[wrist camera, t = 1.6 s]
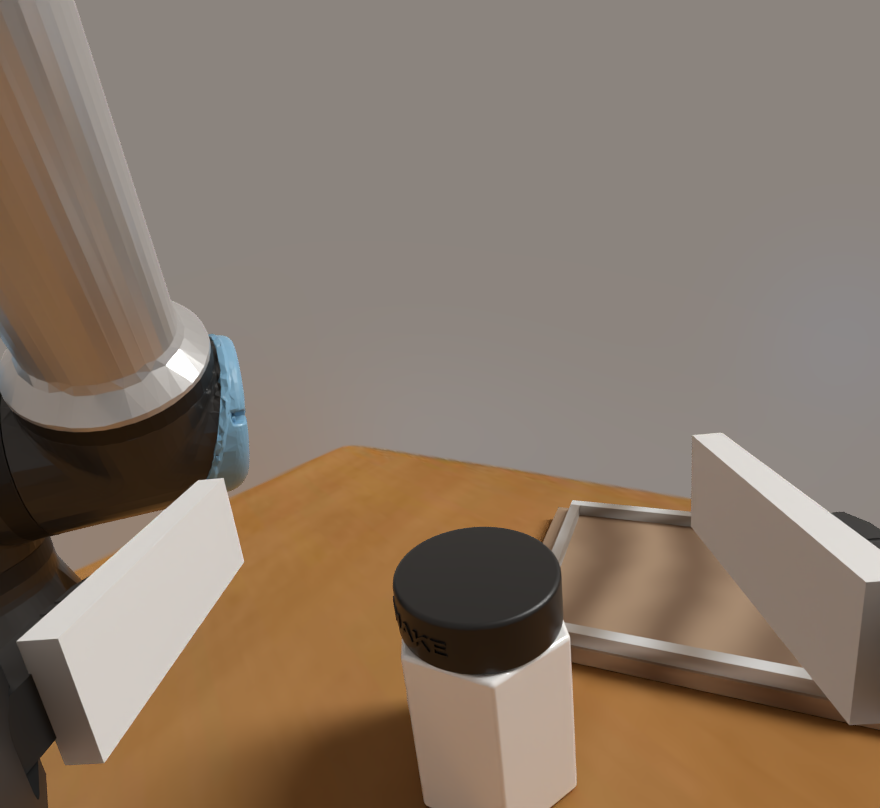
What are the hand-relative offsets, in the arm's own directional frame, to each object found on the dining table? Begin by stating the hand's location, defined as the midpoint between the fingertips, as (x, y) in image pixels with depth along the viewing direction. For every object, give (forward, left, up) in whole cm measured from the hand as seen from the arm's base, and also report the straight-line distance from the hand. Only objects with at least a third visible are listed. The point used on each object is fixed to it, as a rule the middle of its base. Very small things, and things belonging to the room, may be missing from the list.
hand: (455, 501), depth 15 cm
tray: (+6, +25, -20) cm, 33 cm away
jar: (-3, +8, -21) cm, 22 cm away
